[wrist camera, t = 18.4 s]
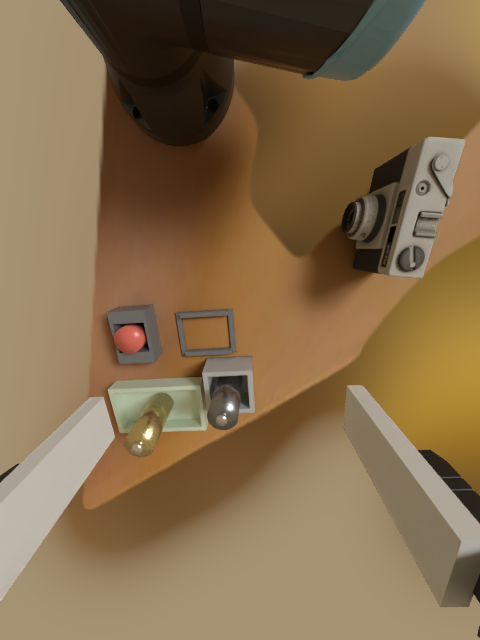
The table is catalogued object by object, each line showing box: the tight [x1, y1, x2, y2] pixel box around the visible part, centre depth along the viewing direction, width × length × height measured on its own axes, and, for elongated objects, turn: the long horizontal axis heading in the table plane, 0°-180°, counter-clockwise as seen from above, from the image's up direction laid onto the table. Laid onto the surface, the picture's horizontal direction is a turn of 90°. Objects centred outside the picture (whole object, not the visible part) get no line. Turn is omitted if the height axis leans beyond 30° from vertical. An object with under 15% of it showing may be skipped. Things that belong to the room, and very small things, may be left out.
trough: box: [108, 377, 208, 433], centre depth 43 cm, size 10×17×3 cm, turn 94°
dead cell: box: [207, 375, 243, 430], centre depth 36 cm, size 4×4×11 cm
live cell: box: [124, 392, 174, 457], centre depth 38 cm, size 4×4×11 cm
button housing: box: [106, 305, 162, 364], centre depth 38 cm, size 9×7×4 cm
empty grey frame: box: [176, 309, 236, 356], centre depth 39 cm, size 8×10×1 cm
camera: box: [342, 137, 465, 278], centre depth 29 cm, size 14×8×10 cm, turn 175°
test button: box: [114, 323, 147, 354], centre depth 36 cm, size 4×4×2 cm
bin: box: [202, 356, 255, 413], centre depth 40 cm, size 8×8×5 cm
